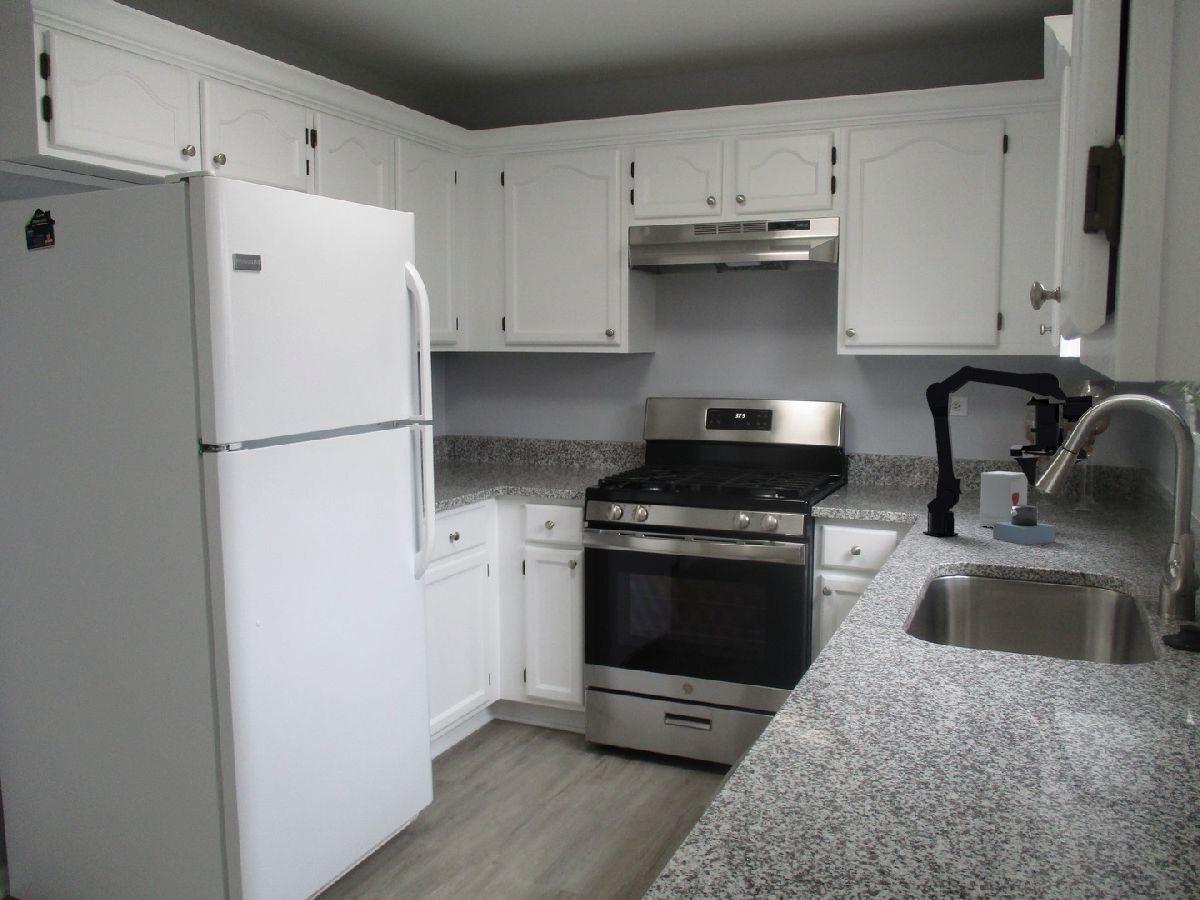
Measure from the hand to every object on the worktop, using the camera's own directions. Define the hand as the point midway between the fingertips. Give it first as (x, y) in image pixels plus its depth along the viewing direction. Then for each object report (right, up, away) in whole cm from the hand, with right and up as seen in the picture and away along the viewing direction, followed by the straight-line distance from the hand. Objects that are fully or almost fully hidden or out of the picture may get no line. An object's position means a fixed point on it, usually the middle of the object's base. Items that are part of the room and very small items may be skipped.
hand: (1047, 486), depth 235 cm
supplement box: (0, -12, +25) cm, 28 cm away
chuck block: (-4, -14, +3) cm, 15 cm away
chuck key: (-4, -13, +3) cm, 14 cm away
